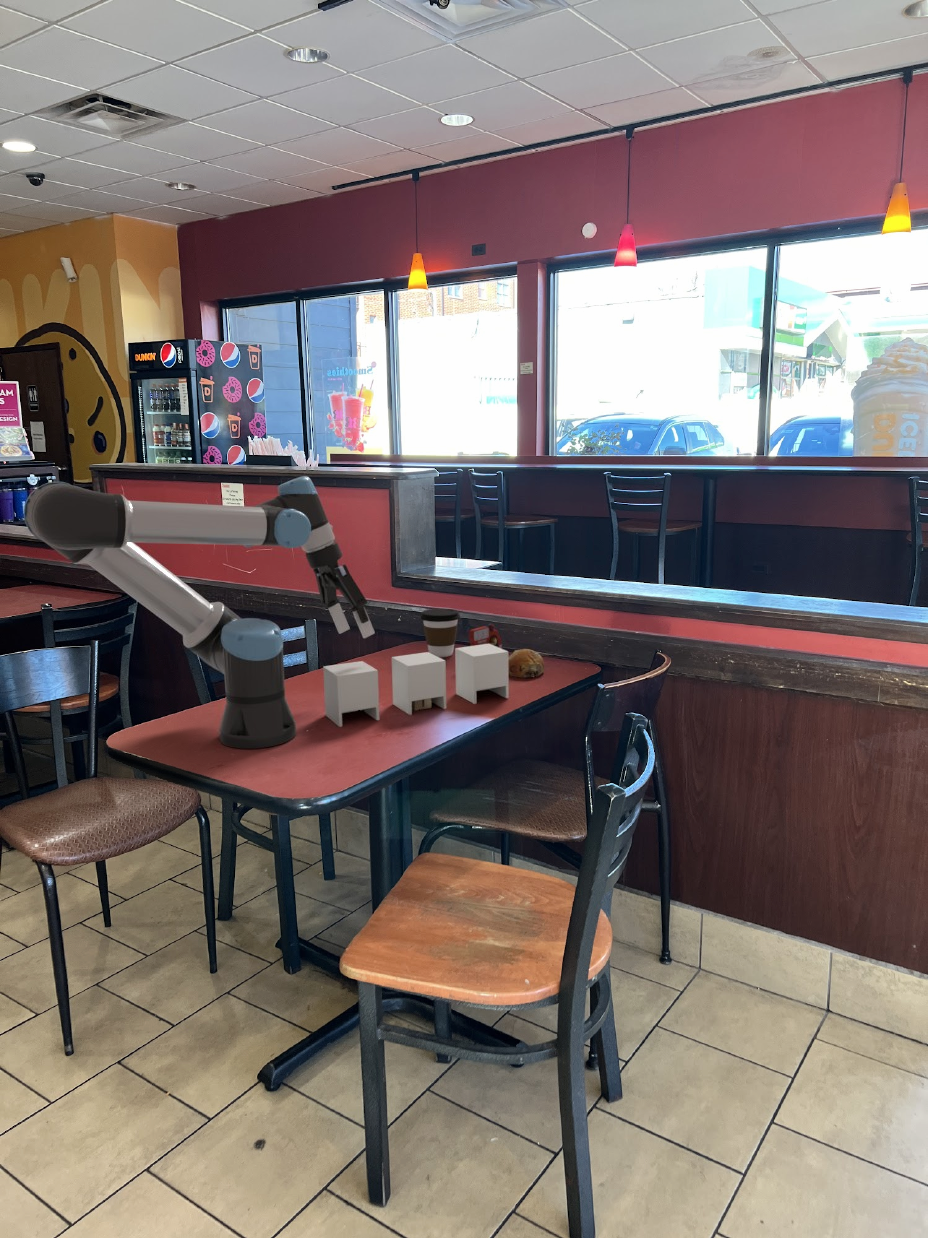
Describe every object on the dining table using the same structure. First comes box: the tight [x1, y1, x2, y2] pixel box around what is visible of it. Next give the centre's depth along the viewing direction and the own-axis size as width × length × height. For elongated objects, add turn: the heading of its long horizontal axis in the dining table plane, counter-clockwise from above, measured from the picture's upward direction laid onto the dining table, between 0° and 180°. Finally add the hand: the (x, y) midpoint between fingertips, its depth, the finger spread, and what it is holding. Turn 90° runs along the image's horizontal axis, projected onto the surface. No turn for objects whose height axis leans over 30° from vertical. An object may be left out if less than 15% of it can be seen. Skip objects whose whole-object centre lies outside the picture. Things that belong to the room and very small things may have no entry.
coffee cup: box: [420, 608, 461, 658], centre depth 244 cm, size 11×11×12 cm
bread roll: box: [508, 648, 545, 679], centre depth 225 cm, size 10×10×8 cm
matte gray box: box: [454, 644, 510, 705], centre depth 205 cm, size 9×9×11 cm
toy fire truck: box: [468, 623, 505, 650], centre depth 234 cm, size 7×12×10 cm, turn 140°
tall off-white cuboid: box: [391, 651, 447, 716], centre depth 198 cm, size 9×9×11 cm
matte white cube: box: [322, 660, 380, 728], centre depth 191 cm, size 9×9×11 cm
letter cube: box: [412, 698, 432, 711], centre depth 199 cm, size 4×4×4 cm
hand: (356, 633), depth 200 cm, fingers open, 13 cm apart
